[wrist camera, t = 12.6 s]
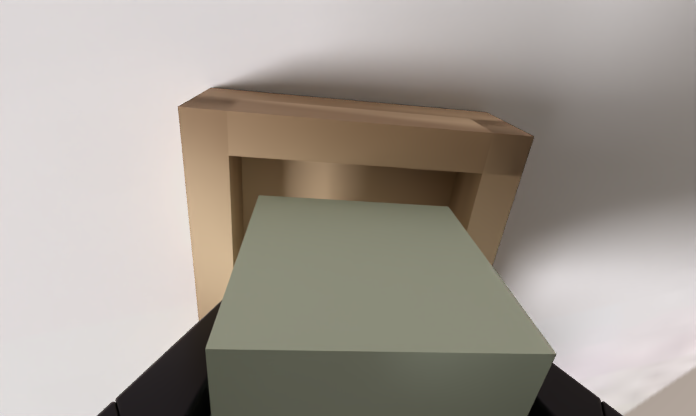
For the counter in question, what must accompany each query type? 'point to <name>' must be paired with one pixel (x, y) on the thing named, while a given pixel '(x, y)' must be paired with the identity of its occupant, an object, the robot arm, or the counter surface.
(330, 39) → the counter surface
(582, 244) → the counter surface
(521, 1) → the counter surface
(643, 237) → the counter surface
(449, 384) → the sage cube
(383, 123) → the box
